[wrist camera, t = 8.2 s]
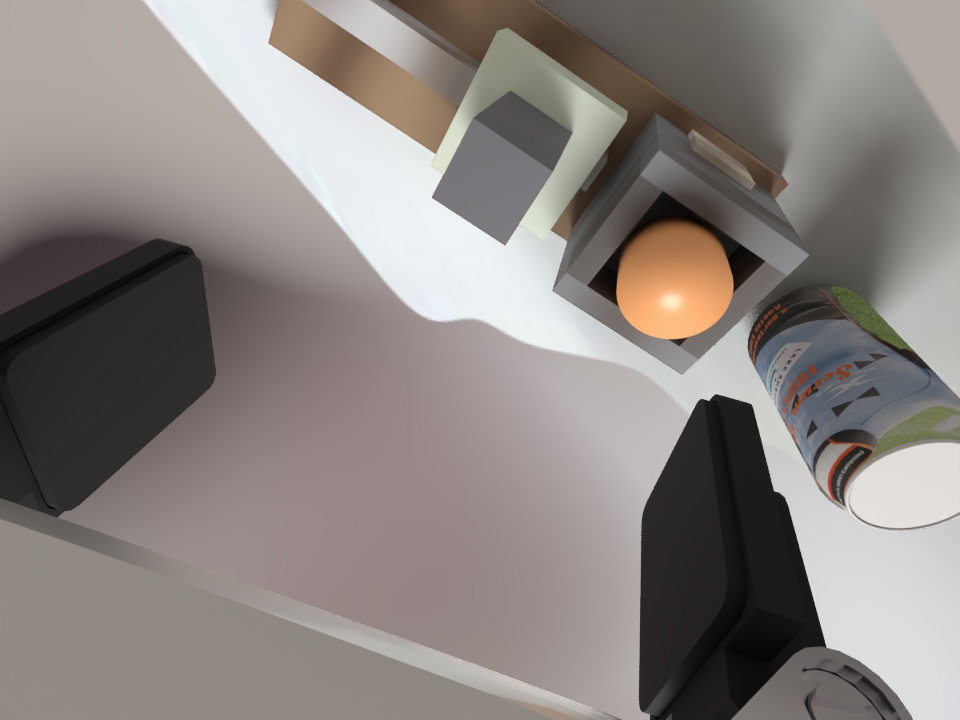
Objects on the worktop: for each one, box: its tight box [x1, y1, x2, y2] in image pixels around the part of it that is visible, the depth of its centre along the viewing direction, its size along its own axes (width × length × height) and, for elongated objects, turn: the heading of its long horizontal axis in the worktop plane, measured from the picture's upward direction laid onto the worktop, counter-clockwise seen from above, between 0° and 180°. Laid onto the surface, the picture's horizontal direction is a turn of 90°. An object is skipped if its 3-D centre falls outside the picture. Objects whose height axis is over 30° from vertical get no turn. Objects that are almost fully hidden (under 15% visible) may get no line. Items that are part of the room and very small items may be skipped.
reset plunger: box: [616, 215, 734, 339], centre depth 21 cm, size 4×4×2 cm
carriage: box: [430, 28, 628, 245], centre depth 23 cm, size 6×6×10 cm
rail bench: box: [268, 0, 809, 375], centre depth 24 cm, size 25×8×9 cm, turn 61°
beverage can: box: [748, 285, 960, 531], centre depth 26 cm, size 6×7×12 cm
